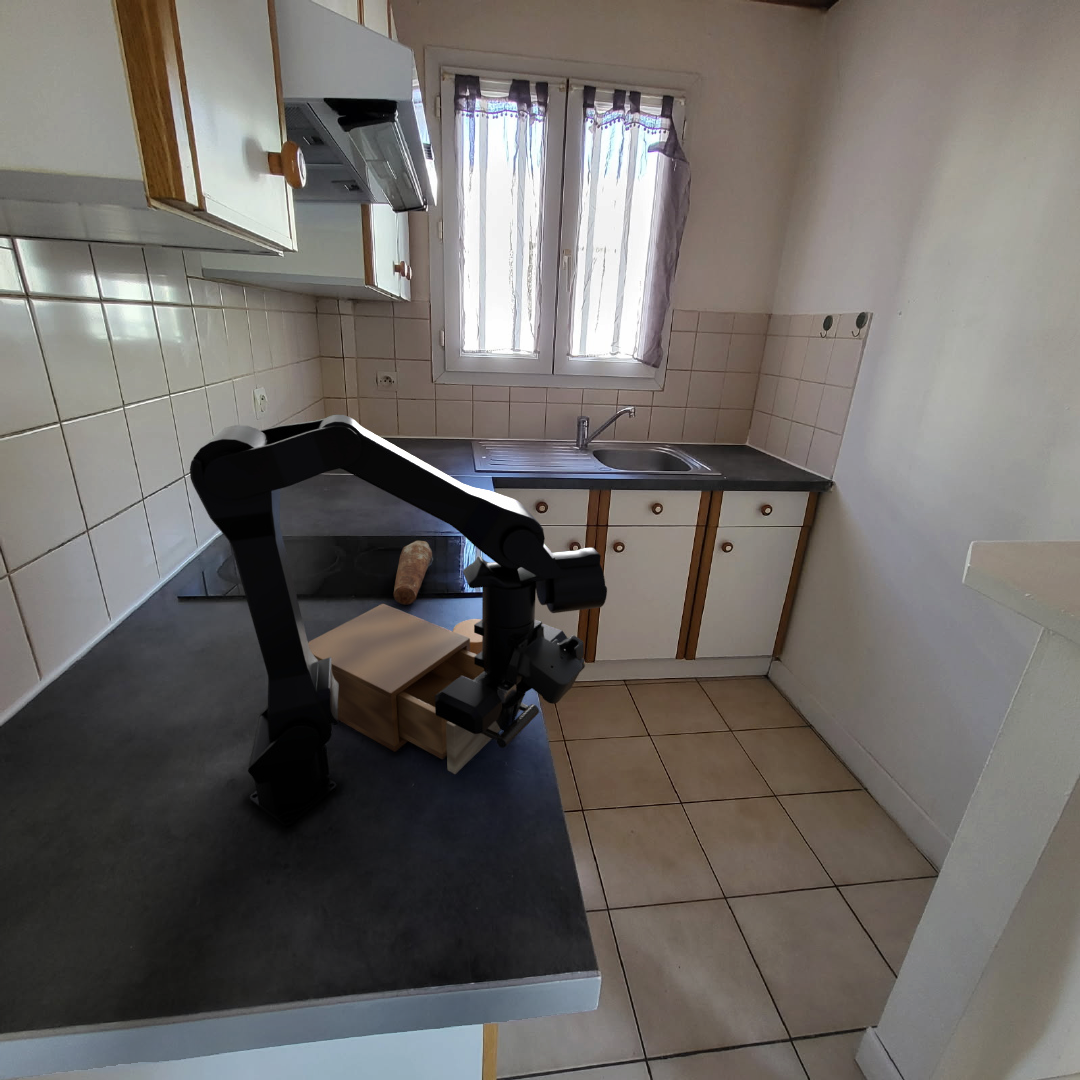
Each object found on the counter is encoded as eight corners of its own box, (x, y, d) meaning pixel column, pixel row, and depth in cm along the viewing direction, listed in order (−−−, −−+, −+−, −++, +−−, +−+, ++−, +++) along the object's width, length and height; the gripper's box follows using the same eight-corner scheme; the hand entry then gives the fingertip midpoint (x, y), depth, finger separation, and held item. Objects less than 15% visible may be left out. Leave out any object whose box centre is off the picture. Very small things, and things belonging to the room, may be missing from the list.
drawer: (550, 724, 72) (553, 680, 69) (488, 793, 61) (489, 744, 58) (432, 670, 81) (430, 630, 79) (360, 722, 71) (355, 677, 68)
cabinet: (470, 690, 79) (470, 638, 76) (394, 752, 67) (390, 693, 64) (386, 652, 87) (382, 603, 84) (305, 701, 75) (297, 647, 72)
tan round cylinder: (479, 676, 82) (479, 647, 80) (444, 661, 85) (443, 632, 83) (506, 655, 87) (506, 627, 86) (471, 641, 91) (471, 614, 89)
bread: (433, 564, 117) (432, 539, 115) (418, 608, 100) (417, 580, 98) (403, 563, 117) (401, 539, 115) (382, 608, 99) (380, 579, 97)
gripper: (524, 684, 49) (519, 814, 55) (611, 602, 64) (600, 712, 70) (428, 645, 55) (433, 767, 61) (530, 577, 70) (526, 681, 75)
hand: (505, 729), depth 67 cm, fingers closed
